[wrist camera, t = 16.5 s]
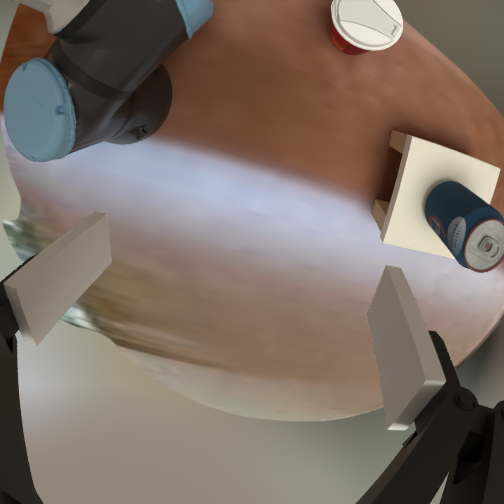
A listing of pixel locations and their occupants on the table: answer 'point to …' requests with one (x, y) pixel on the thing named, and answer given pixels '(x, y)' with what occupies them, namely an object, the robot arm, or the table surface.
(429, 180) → the small white stool
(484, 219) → the soda can
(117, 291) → the table surface
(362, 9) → the paper cup
